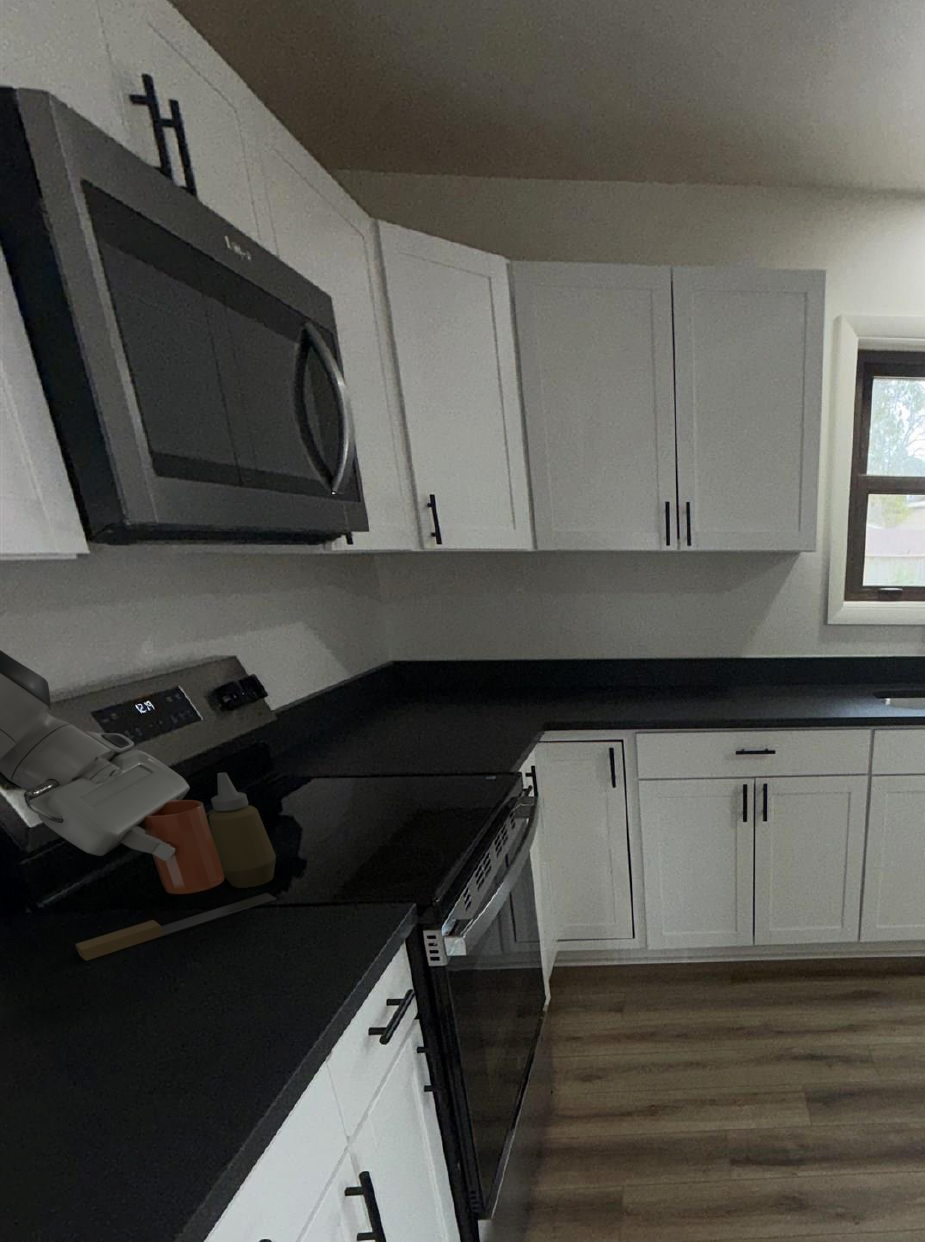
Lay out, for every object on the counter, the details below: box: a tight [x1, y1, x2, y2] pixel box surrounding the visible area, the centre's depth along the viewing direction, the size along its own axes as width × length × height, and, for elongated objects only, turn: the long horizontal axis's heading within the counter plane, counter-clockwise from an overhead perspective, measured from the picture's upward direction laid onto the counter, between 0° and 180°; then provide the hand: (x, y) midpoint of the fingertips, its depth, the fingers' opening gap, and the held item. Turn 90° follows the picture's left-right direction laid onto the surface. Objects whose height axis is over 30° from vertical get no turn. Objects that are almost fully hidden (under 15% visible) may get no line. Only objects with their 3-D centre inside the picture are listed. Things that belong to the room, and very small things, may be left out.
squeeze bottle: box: [208, 771, 277, 889], centre depth 123 cm, size 8×8×18 cm
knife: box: [75, 892, 277, 962], centre depth 113 cm, size 24×3×2 cm, turn 142°
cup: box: [141, 799, 226, 895], centre depth 98 cm, size 6×6×10 cm
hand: (188, 843), depth 98 cm, fingers closed on cup, 6 cm apart
